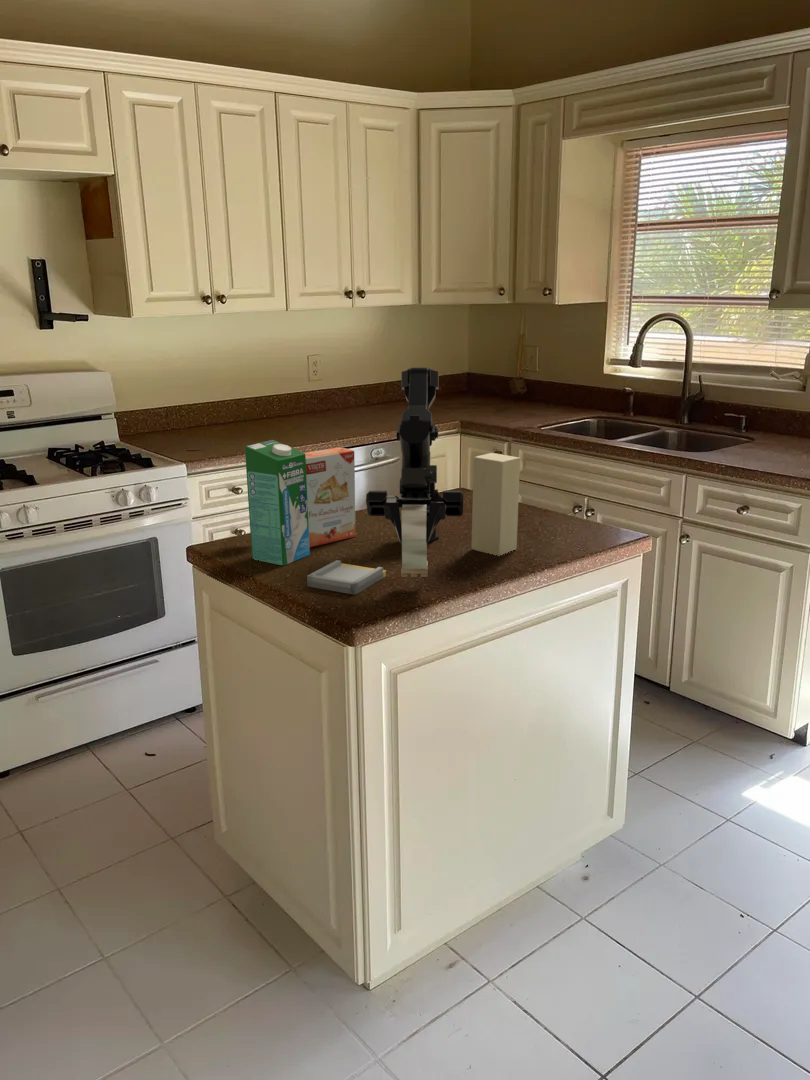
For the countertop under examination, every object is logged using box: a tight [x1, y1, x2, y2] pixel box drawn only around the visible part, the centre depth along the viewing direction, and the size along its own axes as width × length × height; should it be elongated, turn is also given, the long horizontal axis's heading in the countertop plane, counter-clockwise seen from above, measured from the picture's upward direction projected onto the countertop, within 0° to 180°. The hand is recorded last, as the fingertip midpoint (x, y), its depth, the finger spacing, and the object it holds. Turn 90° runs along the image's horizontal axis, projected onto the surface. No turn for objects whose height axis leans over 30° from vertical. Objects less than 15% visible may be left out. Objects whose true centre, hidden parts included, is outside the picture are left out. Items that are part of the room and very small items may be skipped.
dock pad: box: [306, 559, 387, 596], centre depth 172 cm, size 12×11×2 cm
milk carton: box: [244, 439, 311, 567], centre depth 184 cm, size 9×9×25 cm
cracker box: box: [304, 446, 356, 548], centre depth 196 cm, size 14×6×21 cm, turn 131°
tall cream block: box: [471, 452, 521, 557], centre depth 188 cm, size 8×7×21 cm
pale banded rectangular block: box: [400, 505, 429, 578], centre depth 165 cm, size 5×5×13 cm
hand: (414, 541), depth 163 cm, fingers closed on pale banded rectangular block, 5 cm apart
